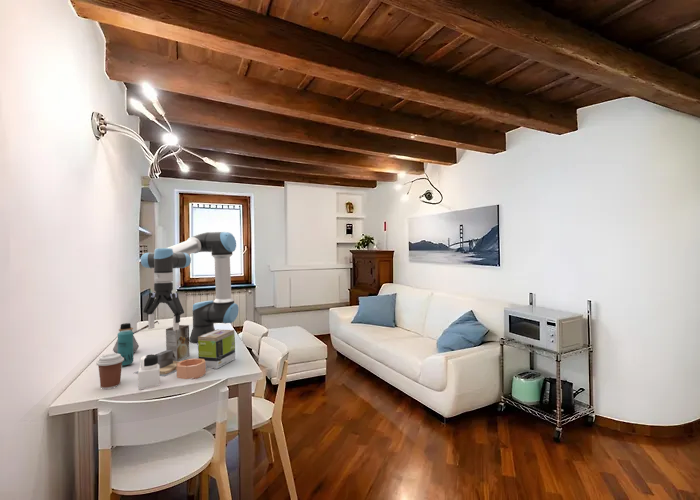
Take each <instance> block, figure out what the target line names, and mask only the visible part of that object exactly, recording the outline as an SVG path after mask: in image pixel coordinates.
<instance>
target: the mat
mask: <svg viewBox="0 0 700 500" xmlns="http://www.w3.org/2000/svg"><path fill="white" fill-rule="evenodd" d="M138 371H139V370H138ZM138 371H135V372H133V374H137V375H138ZM174 373H177V369H176V370H174V371H172V372H169V373H167V374H160V377H165V378H166V377H168V376H170V375H172V374H174Z"/></svg>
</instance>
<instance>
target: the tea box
mask: <svg viewBox="0 0 700 500" xmlns="http://www.w3.org/2000/svg"><path fill="white" fill-rule="evenodd" d="M235 334H236V333H235V329H215V331H212V332H209V333H207V334H204V335H201V336H199V337H198V343H197V345H198V347H197V349H198V352H197V353H198V354H197V355H198V357H197V358H199V359H204V360H205V362H206V368H208V369H209V368H210V369H211V368H212V370H217V369H220V368H221V367H223V366H225V365H227V364H229V363H230V362H232V361H235V360H236V339H235V338H236V337H235Z"/></svg>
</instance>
